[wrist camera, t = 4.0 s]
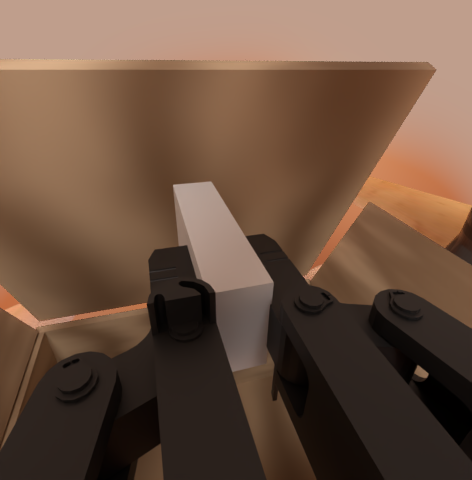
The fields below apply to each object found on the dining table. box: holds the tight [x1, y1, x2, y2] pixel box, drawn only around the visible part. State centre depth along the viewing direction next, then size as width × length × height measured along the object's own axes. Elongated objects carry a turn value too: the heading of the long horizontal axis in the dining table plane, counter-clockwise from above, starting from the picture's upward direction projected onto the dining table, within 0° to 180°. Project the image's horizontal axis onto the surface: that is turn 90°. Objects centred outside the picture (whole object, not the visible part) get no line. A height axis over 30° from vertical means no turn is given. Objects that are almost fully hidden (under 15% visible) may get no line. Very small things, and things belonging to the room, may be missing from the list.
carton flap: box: [0, 59, 436, 321], centre depth 17 cm, size 20×17×1 cm
